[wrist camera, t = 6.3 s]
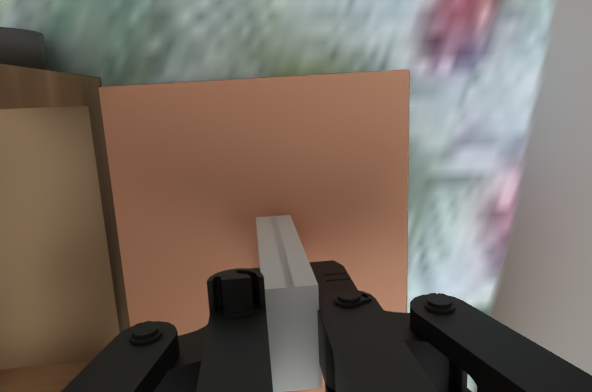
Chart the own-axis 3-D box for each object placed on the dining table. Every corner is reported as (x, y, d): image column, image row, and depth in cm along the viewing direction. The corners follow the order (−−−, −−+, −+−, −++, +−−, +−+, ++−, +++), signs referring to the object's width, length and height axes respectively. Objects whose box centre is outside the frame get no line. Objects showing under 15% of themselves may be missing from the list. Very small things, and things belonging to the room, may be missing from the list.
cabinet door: (136, 377, 21) (404, 415, 18) (98, 87, 18) (408, 69, 15) (156, 357, 22) (406, 390, 19) (123, 87, 19) (409, 71, 16)
